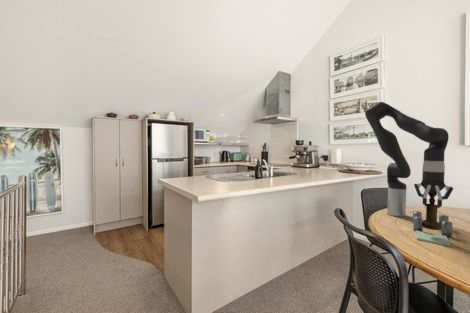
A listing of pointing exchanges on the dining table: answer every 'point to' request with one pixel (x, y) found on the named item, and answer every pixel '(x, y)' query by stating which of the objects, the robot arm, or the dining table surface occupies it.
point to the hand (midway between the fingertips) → (431, 206)
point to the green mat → (432, 238)
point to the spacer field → (443, 220)
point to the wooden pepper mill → (431, 214)
